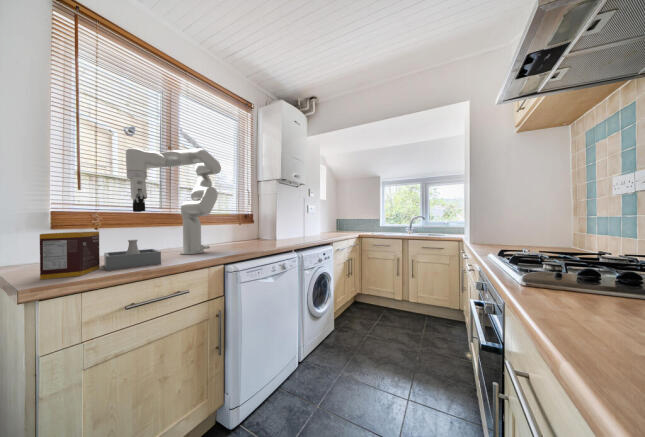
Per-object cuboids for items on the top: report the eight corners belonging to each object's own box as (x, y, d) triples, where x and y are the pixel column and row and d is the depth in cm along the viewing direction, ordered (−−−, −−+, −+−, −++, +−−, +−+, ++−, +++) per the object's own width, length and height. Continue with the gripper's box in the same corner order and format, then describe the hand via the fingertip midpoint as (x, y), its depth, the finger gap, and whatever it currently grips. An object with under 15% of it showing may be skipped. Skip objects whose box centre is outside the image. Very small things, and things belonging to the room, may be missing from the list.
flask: (147, 260, 107) (147, 239, 107) (132, 263, 100) (132, 240, 100) (133, 260, 108) (133, 239, 108) (117, 263, 100) (117, 240, 100)
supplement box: (100, 268, 95) (99, 231, 96) (80, 276, 82) (80, 232, 82) (65, 271, 91) (65, 232, 91) (39, 279, 77) (38, 233, 77)
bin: (153, 259, 116) (153, 248, 116) (161, 263, 103) (160, 251, 103) (104, 265, 103) (104, 252, 103) (106, 270, 91) (106, 256, 91)
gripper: (150, 173, 106) (152, 210, 106) (143, 178, 118) (145, 211, 118) (129, 172, 100) (131, 211, 101) (124, 177, 112) (126, 212, 113)
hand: (139, 211), depth 110 cm, fingers open, 9 cm apart
